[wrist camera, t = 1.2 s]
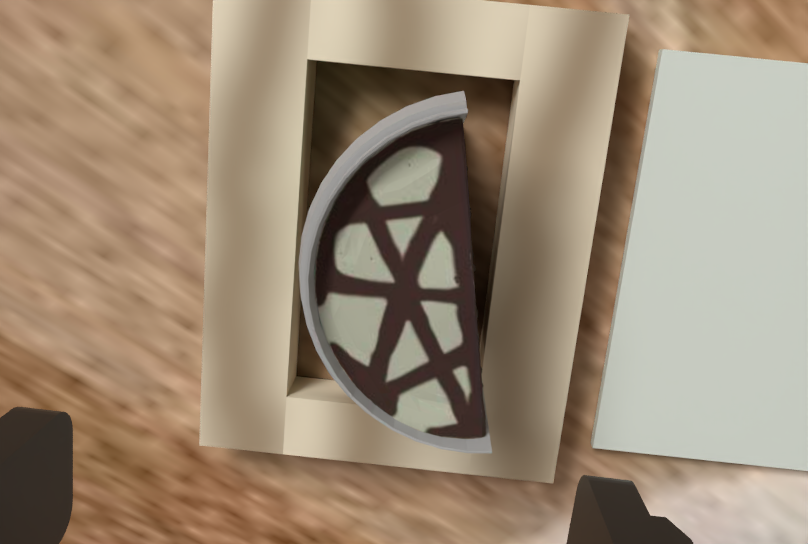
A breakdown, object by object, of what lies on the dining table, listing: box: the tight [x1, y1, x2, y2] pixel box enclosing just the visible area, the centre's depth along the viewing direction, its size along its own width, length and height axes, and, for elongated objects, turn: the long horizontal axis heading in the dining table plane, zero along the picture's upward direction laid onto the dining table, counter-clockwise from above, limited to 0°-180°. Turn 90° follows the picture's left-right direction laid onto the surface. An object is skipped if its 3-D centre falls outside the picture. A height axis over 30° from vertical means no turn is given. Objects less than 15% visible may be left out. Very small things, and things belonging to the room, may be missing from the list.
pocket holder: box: [199, 0, 629, 483], centre depth 32 cm, size 16×20×2 cm
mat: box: [591, 49, 808, 471], centre depth 33 cm, size 12×18×1 cm, turn 175°
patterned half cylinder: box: [299, 91, 492, 453], centre depth 29 cm, size 12×6×10 cm, turn 5°
